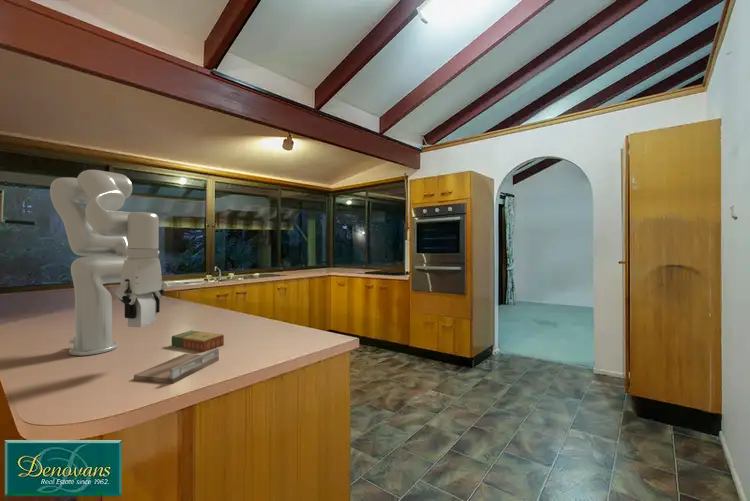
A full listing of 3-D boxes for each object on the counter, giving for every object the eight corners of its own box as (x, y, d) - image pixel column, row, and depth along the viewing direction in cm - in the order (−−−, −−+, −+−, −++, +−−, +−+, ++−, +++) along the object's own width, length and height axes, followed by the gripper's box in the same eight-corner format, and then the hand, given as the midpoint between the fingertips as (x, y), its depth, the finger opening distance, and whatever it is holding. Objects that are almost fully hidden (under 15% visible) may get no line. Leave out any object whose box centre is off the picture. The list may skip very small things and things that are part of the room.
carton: (204, 353, 113) (204, 340, 112) (170, 347, 119) (170, 335, 119) (224, 346, 120) (224, 334, 120) (191, 340, 126) (191, 329, 126)
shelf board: (133, 379, 89) (133, 366, 89) (184, 357, 107) (184, 346, 107) (173, 383, 87) (173, 369, 87) (219, 360, 105) (219, 348, 104)
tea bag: (156, 321, 103) (156, 288, 103) (140, 327, 96) (141, 292, 96) (144, 321, 103) (144, 288, 103) (127, 326, 96) (128, 291, 96)
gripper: (156, 253, 108) (156, 308, 109) (103, 255, 91) (102, 320, 92) (177, 254, 107) (176, 310, 107) (126, 256, 90) (126, 323, 90)
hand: (142, 314), depth 99 cm, fingers closed on tea bag, 7 cm apart
